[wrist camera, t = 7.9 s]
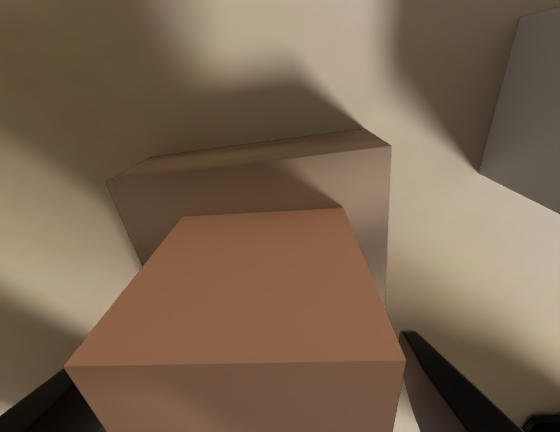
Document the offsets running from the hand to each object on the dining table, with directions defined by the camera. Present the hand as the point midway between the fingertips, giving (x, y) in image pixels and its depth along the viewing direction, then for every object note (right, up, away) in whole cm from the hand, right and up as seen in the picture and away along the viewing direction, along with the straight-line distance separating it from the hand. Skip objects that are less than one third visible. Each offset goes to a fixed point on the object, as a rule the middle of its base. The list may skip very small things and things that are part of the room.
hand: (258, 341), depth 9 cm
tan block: (0, +3, +6) cm, 7 cm away
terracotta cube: (0, +2, +3) cm, 3 cm away
